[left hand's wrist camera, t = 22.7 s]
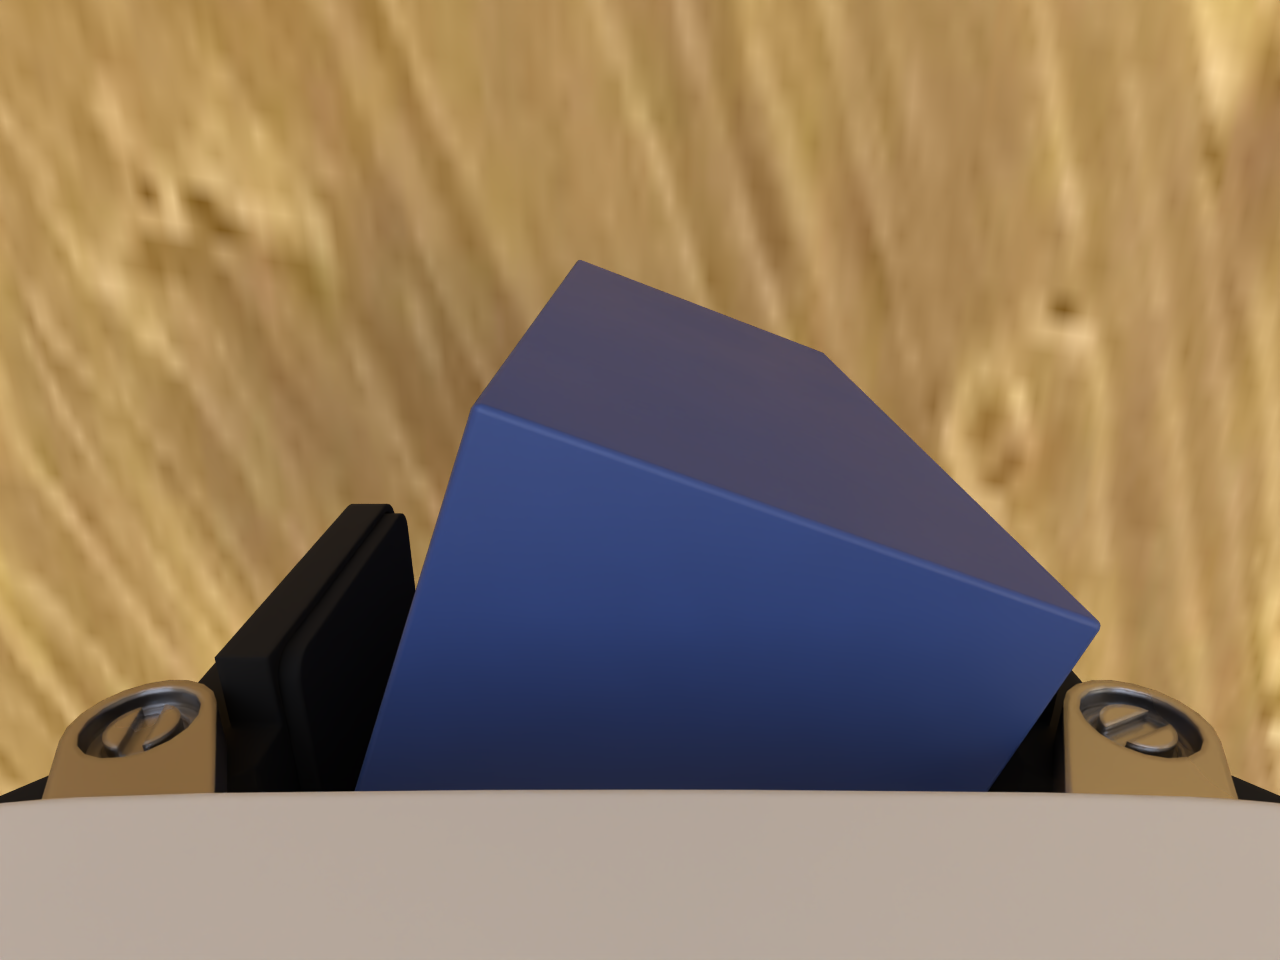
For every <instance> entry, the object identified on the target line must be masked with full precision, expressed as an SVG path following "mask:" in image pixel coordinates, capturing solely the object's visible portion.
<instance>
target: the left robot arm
mask: <svg viewBox="0 0 1280 960" xmlns="http://www.w3.org/2000/svg"><path fill="white" fill-rule="evenodd" d="M414 594H415V583H414V575H413V567H412V558H411V550H410V542H409V534H408V526H407V520H406V517H405V516H404V514H401V513H394V511H393V508H392V507H391V505H389V504H351V505H349V506H348V507H347V508H346V509H345V510H344V511H343V512H342V514H341V515H340V516H339V517H338V518H337V519H336V520H335V522H334V523H333V524H332V525H331V526H330V527H329V528H328V529H327V531H326V532H325V533H324V534H323V535H322V536H321V537H320V539H319V540H318V541H317V542H316V543H315V544H314V545H313V547H312V548H311V549H310V550H309V551H308V552H307V553H306V554H305V556H304V557H303V558H302V559H301V560H300V561H299V562H298V564H297V565H296V566H295V567H294V568H293V569H292V570H291V572H290V573H289V574H288V575H287V576H286V577H285V578H284V579H283V581H282V582H281V583H280V584H279V585H278V586H277V587H276V589H275V590H274V591H273V592H272V593H271V594H270V595H269V597H268V598H267V599H266V600H265V601H264V602H263V603H262V604H261V606H260V607H259V608H258V609H257V610H256V611H255V612H254V614H253V615H252V616H251V617H250V618H249V619H248V620H247V622H246V623H245V624H244V625H243V626H242V627H241V628H240V629H239V631H238V632H237V633H236V634H235V635H234V636H233V637H232V639H231V640H230V641H229V642H228V643H227V644H226V645H225V647H224V648H223V649H222V650H221V651H220V652H219V653H218V654H217V656H216V657H215V661H216V663H215V664H214V665H213V666H212V667H211V668H210V669H209V671H208V672H207V673H206V674H205V675H204V676H203V678H202V679H201V680H200V681H199V682H198V683H197V682H193V681H189V680H167V681H161V682H155V683H149V684H144V685H141V686H138V687H135V688H131V689H128V690H125V691H122V692H120V693H118V694H116V695H113V696H111V697H109V698H107V699H105V700H102V701H100V702H99V703H97V704H96V705H94V706H93V707H91V708H90V709H88V710H86V711H85V712H83V713H82V714H81V715H80V716H79V717H78V718H77V719H75V720H74V721H73V722H72V723H71V724H70V725H69V726H68V727H67V728H66V730H65V732H64V734H63V735H62V737H61V739H60V741H59V744H58V747H57V750H56V754H55V757H54V760H53V763H52V767H51V770H50V773H49V776H47V777H44V778H42V779H39V780H37V781H35V782H32V783H30V784H28V785H25V786H23V787H21V788H18V789H16V790H13V791H11V792H9V793H6V794H4V795H2V796H0V960H1280V796H1279V795H1276V794H1274V793H1272V792H1269V791H1267V790H1265V789H1262V788H1260V787H1257V786H1255V785H1253V784H1250V783H1248V782H1246V781H1243V780H1241V779H1239V778H1236V777H1234V776H1231V773H1230V770H1229V767H1228V763H1227V760H1226V757H1225V754H1224V750H1223V747H1222V744H1221V741H1220V739H1219V737H1218V735H1217V734H1216V732H1215V730H1214V728H1213V727H1212V726H1211V725H1210V724H1209V723H1208V722H1207V721H1206V720H1205V719H1203V718H1202V717H1201V716H1200V715H1199V714H1198V713H1197V712H1195V711H1194V710H1192V709H1190V708H1189V707H1187V706H1186V705H1184V704H1183V703H1181V702H1180V701H1178V700H1175V699H1173V698H1171V697H1169V696H1167V695H1164V694H1162V693H1160V692H1158V691H1155V690H1152V689H1149V688H1145V687H1142V686H1139V685H1136V684H1131V683H1125V682H1119V681H1113V680H1091V681H1087V682H1083V683H1082V681H1081V680H1080V679H1079V678H1078V677H1077V676H1076V675H1075V673H1074V672H1073V671H1072V670H1071V672H1070V673H1069V675H1068V676H1067V677H1066V679H1065V680H1064V682H1063V683H1062V685H1061V686H1060V688H1059V689H1058V691H1057V692H1056V693H1055V695H1054V696H1053V698H1052V699H1051V701H1050V702H1049V704H1048V705H1047V706H1046V708H1045V709H1044V711H1043V712H1042V714H1041V715H1040V717H1039V718H1038V719H1037V721H1036V722H1035V724H1034V725H1033V727H1032V728H1031V730H1030V731H1029V733H1028V734H1027V735H1026V737H1025V738H1024V740H1023V741H1022V743H1021V744H1020V746H1019V747H1018V748H1017V750H1016V751H1015V753H1014V754H1013V756H1012V757H1011V759H1010V760H1009V761H1008V763H1007V764H1006V766H1005V767H1004V769H1003V770H1002V772H1001V773H1000V775H999V776H998V777H997V779H996V780H995V782H994V783H993V785H992V786H991V788H990V789H989V790H988V792H930V791H817V790H439V791H355V788H356V785H357V781H358V778H359V775H360V771H361V768H362V765H363V762H364V758H365V755H366V752H367V748H368V745H369V742H370V739H371V735H372V732H373V729H374V725H375V722H376V719H377V716H378V712H379V709H380V706H381V703H382V699H383V696H384V693H385V689H386V686H387V683H388V680H389V676H390V673H391V670H392V666H393V663H394V660H395V657H396V653H397V650H398V647H399V643H400V640H401V637H402V634H403V630H404V627H405V624H406V620H407V617H408V614H409V611H410V607H411V604H412V601H413V598H414Z"/></svg>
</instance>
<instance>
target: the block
mask: <svg viewBox="0 0 1280 960" xmlns="http://www.w3.org/2000/svg"><path fill="white" fill-rule="evenodd" d="M1099 629H1100V623H1099V621H1098V620H1097V619H1096V618H1095V617H1094V616H1093V615H1092V614H1091V613H1090V612H1088V611H1087V610H1086V609H1085V608H1084V607H1083V606H1082V605H1081V604H1080V603H1079V602H1078V601H1077V600H1076V599H1075V598H1074V597H1073V596H1072V595H1071V594H1070V593H1069V592H1068V591H1067V590H1066V589H1065V588H1064V587H1063V586H1062V585H1061V584H1060V583H1059V582H1058V581H1057V580H1056V579H1055V578H1054V577H1053V576H1052V575H1050V574H1049V573H1048V572H1047V571H1046V570H1045V569H1044V568H1043V567H1042V566H1041V565H1040V564H1039V563H1038V562H1037V561H1036V560H1035V559H1034V558H1033V557H1032V556H1031V555H1030V554H1029V553H1028V552H1027V551H1026V550H1025V549H1024V548H1023V547H1022V546H1021V545H1020V544H1019V543H1018V542H1017V541H1016V540H1015V539H1014V538H1012V537H1011V536H1010V535H1009V534H1008V533H1007V532H1006V531H1005V530H1004V529H1003V528H1002V527H1001V526H1000V525H999V524H998V523H997V522H996V521H995V520H994V519H993V518H992V517H991V516H990V515H989V514H988V513H987V512H986V511H985V510H984V509H983V508H982V507H981V506H980V505H979V504H978V503H977V502H976V501H975V500H973V499H972V498H971V497H970V496H969V495H968V494H967V493H966V492H965V491H964V490H963V489H962V488H961V487H960V486H959V485H958V484H957V483H956V482H955V481H954V480H953V479H952V478H951V477H950V476H949V475H948V474H947V473H946V472H945V471H944V470H943V469H942V468H941V467H940V466H939V465H938V464H937V463H935V462H934V461H933V460H932V459H931V458H930V457H929V456H928V455H927V454H926V453H925V452H924V451H923V450H922V449H921V448H920V447H919V446H918V445H917V444H916V443H915V442H914V441H913V440H912V439H911V438H910V437H909V436H908V435H907V434H906V433H905V432H904V431H903V430H902V429H901V428H900V427H899V426H897V425H896V424H895V423H894V422H893V421H892V420H891V419H890V418H889V417H888V416H887V415H886V414H885V413H884V412H883V411H882V410H881V409H880V408H879V407H878V406H877V405H876V404H875V403H874V402H873V401H872V400H871V399H870V398H869V397H868V396H867V395H866V394H865V393H864V392H863V391H862V390H861V389H860V388H858V387H857V386H856V385H855V384H854V383H853V382H852V381H851V380H850V379H849V378H848V377H847V376H846V375H845V374H844V373H843V372H842V371H841V370H840V369H839V368H838V367H837V366H836V365H835V364H834V363H833V362H832V361H831V360H830V359H829V358H828V357H827V356H826V355H825V354H824V353H822V352H819V351H817V350H814V349H811V348H809V347H806V346H804V345H801V344H798V343H796V342H793V341H791V340H788V339H785V338H783V337H780V336H778V335H775V334H772V333H770V332H767V331H765V330H762V329H759V328H757V327H754V326H751V325H749V324H746V323H744V322H741V321H738V320H736V319H733V318H731V317H728V316H725V315H723V314H720V313H718V312H715V311H712V310H710V309H707V308H704V307H702V306H699V305H697V304H694V303H691V302H689V301H686V300H684V299H681V298H678V297H676V296H673V295H671V294H668V293H665V292H663V291H660V290H658V289H655V288H652V287H650V286H647V285H644V284H642V283H639V282H637V281H634V280H631V279H629V278H626V277H624V276H621V275H618V274H616V273H613V272H611V271H608V270H605V269H603V268H600V267H597V266H595V265H592V264H590V263H587V262H584V261H582V260H578V261H577V262H576V264H575V265H574V267H573V268H572V269H571V271H570V272H569V273H568V275H567V276H566V278H565V279H564V280H563V282H562V283H561V285H560V286H559V287H558V289H557V290H556V291H555V293H554V294H553V296H552V297H551V298H550V300H549V301H548V302H547V304H546V305H545V307H544V308H543V309H542V311H541V312H540V314H539V315H538V316H537V318H536V319H535V320H534V322H533V323H532V325H531V326H530V327H529V329H528V330H527V332H526V333H525V334H524V336H523V337H522V338H521V340H520V341H519V343H518V344H517V345H516V347H515V348H514V350H513V351H512V352H511V354H510V355H509V356H508V358H507V359H506V361H505V362H504V363H503V365H502V366H501V368H500V369H499V370H498V372H497V373H496V374H495V376H494V377H493V379H492V380H491V381H490V383H489V384H488V385H487V387H486V388H485V390H484V391H483V392H482V394H481V395H480V397H479V398H478V399H477V401H476V402H475V403H474V405H473V406H472V408H471V411H470V414H469V417H468V420H467V424H466V427H465V430H464V433H463V437H462V440H461V443H460V447H459V450H458V453H457V456H456V460H455V463H454V466H453V470H452V473H451V476H450V479H449V483H448V486H447V489H446V493H445V496H444V499H443V502H442V506H441V509H440V512H439V515H438V519H437V522H436V525H435V529H434V532H433V535H432V538H431V542H430V545H429V548H428V552H427V555H426V558H425V561H424V565H423V568H422V571H421V575H420V578H419V581H418V584H417V588H416V591H415V594H414V598H413V601H412V604H411V607H410V611H409V614H408V617H407V620H406V624H405V627H404V630H403V634H402V637H401V640H400V643H399V647H398V650H397V653H396V657H395V660H394V663H393V666H392V670H391V673H390V676H389V680H388V683H387V686H386V689H385V693H384V696H383V699H382V703H381V706H380V709H379V712H378V716H377V719H376V722H375V725H374V729H373V732H372V735H371V739H370V742H369V745H368V748H367V752H366V755H365V758H364V762H363V765H362V768H361V771H360V775H359V778H358V781H357V785H356V788H355V791H439V790H817V791H930V792H988V790H989V789H990V788H991V786H992V785H993V783H994V782H995V780H996V779H997V777H998V776H999V775H1000V773H1001V772H1002V770H1003V769H1004V767H1005V766H1006V764H1007V763H1008V761H1009V760H1010V759H1011V757H1012V756H1013V754H1014V753H1015V751H1016V750H1017V748H1018V747H1019V746H1020V744H1021V743H1022V741H1023V740H1024V738H1025V737H1026V735H1027V734H1028V733H1029V731H1030V730H1031V728H1032V727H1033V725H1034V724H1035V722H1036V721H1037V719H1038V718H1039V717H1040V715H1041V714H1042V712H1043V711H1044V709H1045V708H1046V706H1047V705H1048V704H1049V702H1050V701H1051V699H1052V698H1053V696H1054V695H1055V693H1056V692H1057V691H1058V689H1059V688H1060V686H1061V685H1062V683H1063V682H1064V680H1065V679H1066V677H1067V676H1068V675H1069V673H1070V672H1071V670H1072V669H1073V667H1074V666H1075V664H1076V663H1077V662H1078V660H1079V659H1080V657H1081V656H1082V654H1083V653H1084V651H1085V650H1086V649H1087V647H1088V646H1089V644H1090V643H1091V641H1092V640H1093V638H1094V637H1095V635H1096V634H1097V633H1098V631H1099Z"/></svg>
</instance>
